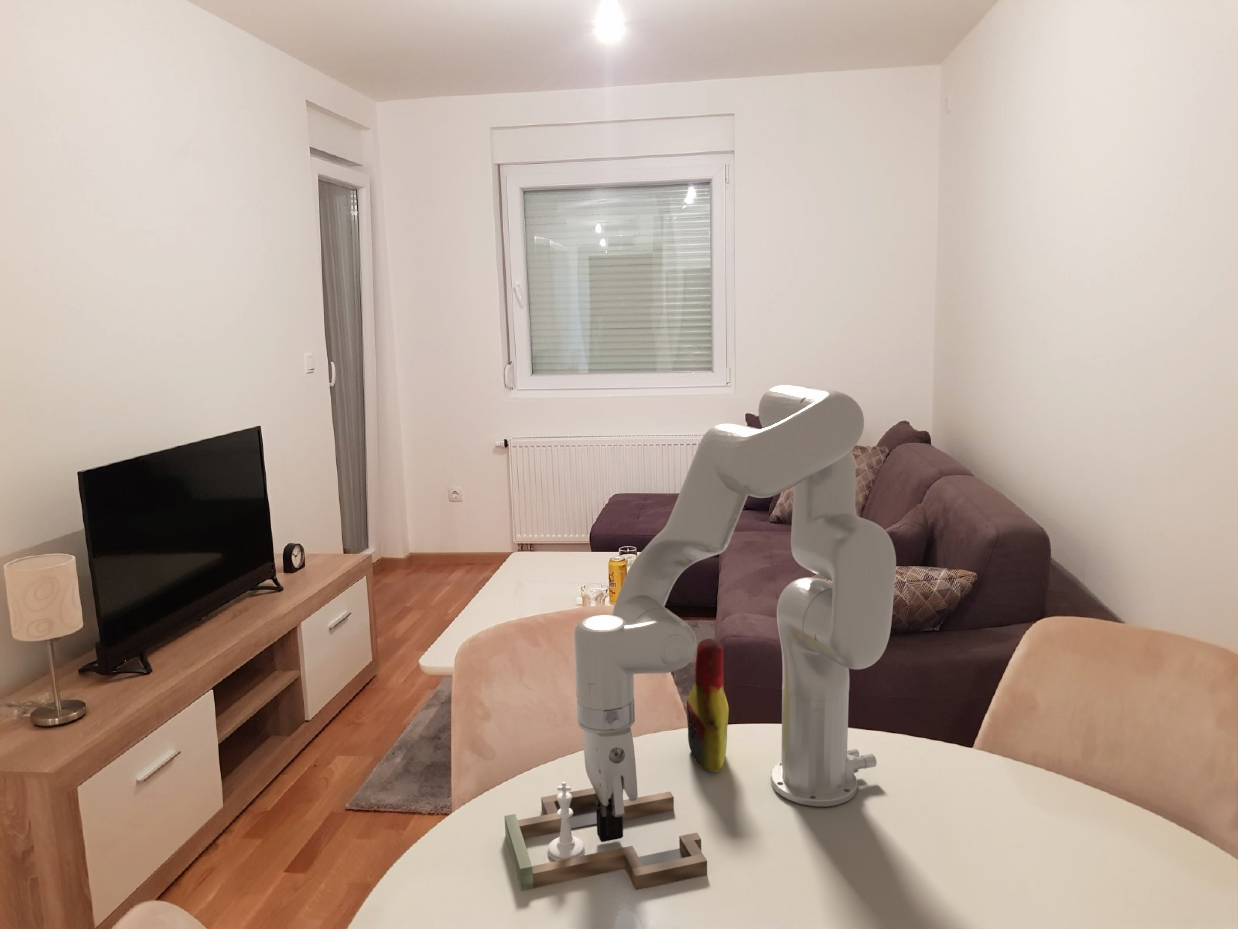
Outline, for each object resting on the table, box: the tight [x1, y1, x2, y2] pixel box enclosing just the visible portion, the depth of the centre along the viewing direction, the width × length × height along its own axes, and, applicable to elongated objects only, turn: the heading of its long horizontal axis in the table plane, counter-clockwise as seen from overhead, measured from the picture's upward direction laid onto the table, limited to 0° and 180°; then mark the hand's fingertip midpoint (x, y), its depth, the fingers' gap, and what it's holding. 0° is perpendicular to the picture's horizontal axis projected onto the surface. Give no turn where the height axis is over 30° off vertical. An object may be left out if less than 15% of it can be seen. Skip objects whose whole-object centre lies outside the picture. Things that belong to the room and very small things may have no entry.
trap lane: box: [504, 787, 708, 891], centre depth 119 cm, size 24×21×3 cm
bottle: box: [686, 638, 729, 772], centre depth 138 cm, size 12×6×20 cm, turn 1°
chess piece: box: [547, 781, 586, 862], centre depth 117 cm, size 5×5×10 cm
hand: (610, 836), depth 119 cm, fingers closed
